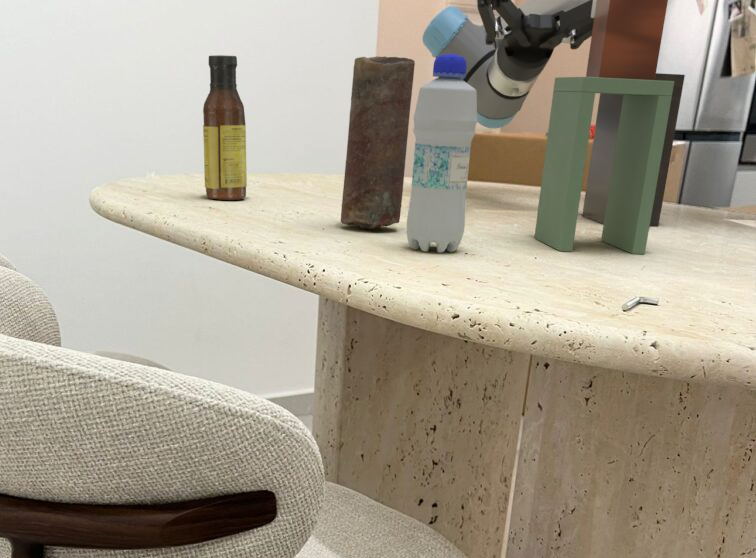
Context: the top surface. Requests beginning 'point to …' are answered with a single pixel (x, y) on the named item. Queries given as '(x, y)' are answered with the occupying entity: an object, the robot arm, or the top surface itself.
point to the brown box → (626, 38)
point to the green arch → (630, 165)
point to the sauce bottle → (224, 133)
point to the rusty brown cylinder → (377, 141)
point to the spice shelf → (606, 149)
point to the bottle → (441, 156)
